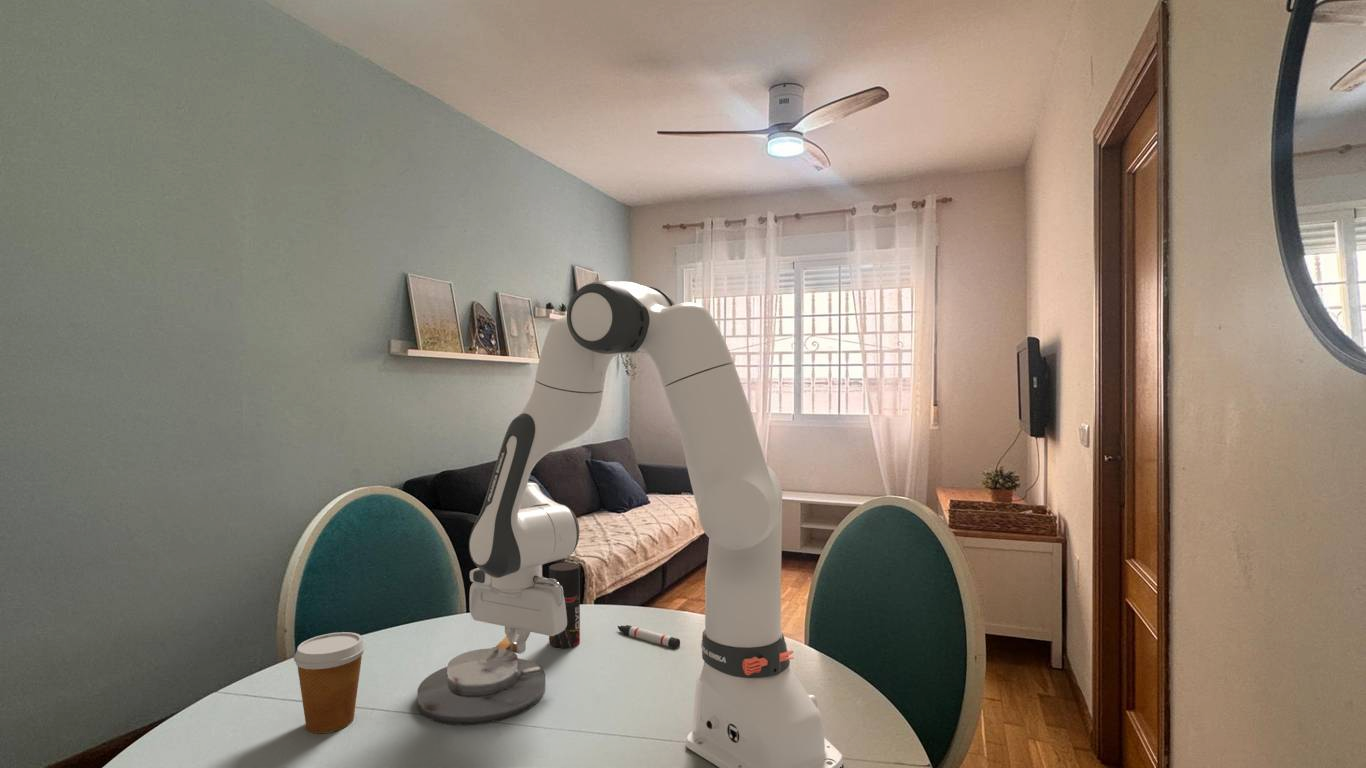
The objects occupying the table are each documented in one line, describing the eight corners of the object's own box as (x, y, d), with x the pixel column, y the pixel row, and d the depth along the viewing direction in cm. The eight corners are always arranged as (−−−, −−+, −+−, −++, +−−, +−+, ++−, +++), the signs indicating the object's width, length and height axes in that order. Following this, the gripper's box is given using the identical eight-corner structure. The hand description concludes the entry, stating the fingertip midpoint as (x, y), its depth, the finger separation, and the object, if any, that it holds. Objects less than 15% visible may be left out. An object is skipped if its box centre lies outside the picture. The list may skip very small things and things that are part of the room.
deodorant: (577, 649, 127) (577, 570, 127) (546, 649, 127) (546, 570, 127) (582, 637, 133) (582, 562, 133) (552, 637, 133) (552, 562, 133)
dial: (501, 697, 102) (501, 675, 102) (434, 693, 104) (434, 671, 104) (542, 650, 121) (542, 631, 121) (484, 647, 122) (484, 628, 122)
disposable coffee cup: (316, 746, 93) (316, 660, 93) (280, 728, 98) (280, 646, 98) (378, 717, 101) (378, 638, 101) (342, 702, 106) (342, 626, 106)
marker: (680, 647, 129) (680, 637, 129) (674, 650, 127) (674, 640, 127) (620, 630, 138) (620, 621, 138) (614, 633, 136) (614, 623, 136)
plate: (562, 704, 105) (562, 689, 105) (428, 738, 95) (428, 722, 95) (525, 659, 122) (525, 647, 122) (408, 684, 112) (408, 670, 112)
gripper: (574, 575, 115) (575, 656, 115) (489, 563, 125) (490, 636, 125) (549, 584, 110) (551, 669, 110) (462, 571, 120) (463, 648, 120)
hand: (517, 651), depth 117 cm, fingers closed
